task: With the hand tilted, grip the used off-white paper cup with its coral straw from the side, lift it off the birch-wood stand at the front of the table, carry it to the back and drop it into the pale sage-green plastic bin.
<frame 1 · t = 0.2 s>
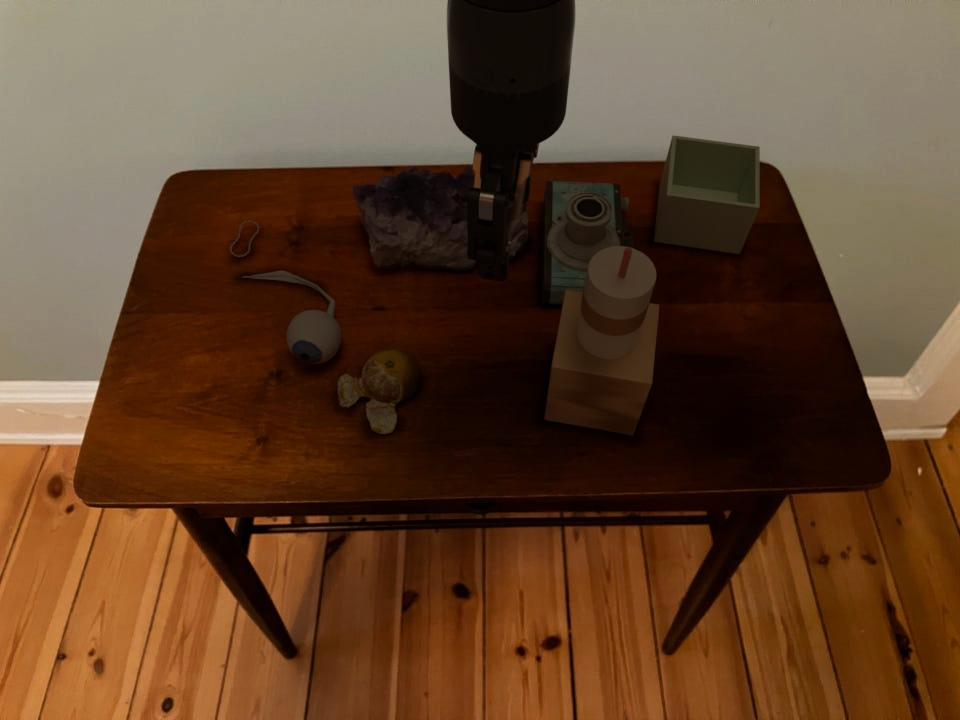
hand: (505, 236, 58), 22 cm above the table, tool pointing down, fingers open, 8 cm apart
paper cup: (607, 334, 68), point 10 cm above the table, touching stand
geode: (443, 241, 88), on the table
stand: (593, 390, 76), on the table
camera: (585, 255, 87), on the table
novelty item: (289, 321, 82), on the table
necklace: (246, 242, 88), on the table
bin: (698, 217, 90), on the table
fruit: (376, 393, 77), on the table
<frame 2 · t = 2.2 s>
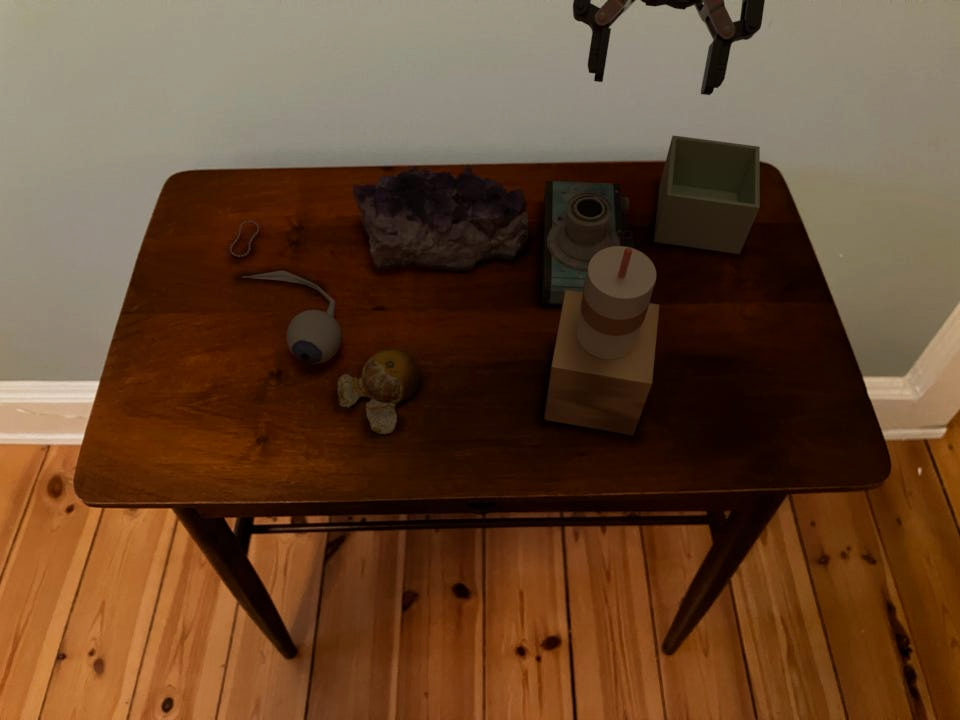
hand: (652, 86, 59), 29 cm above the table, tool tilted 45°, fingers open, 8 cm apart
nothing on the table moved.
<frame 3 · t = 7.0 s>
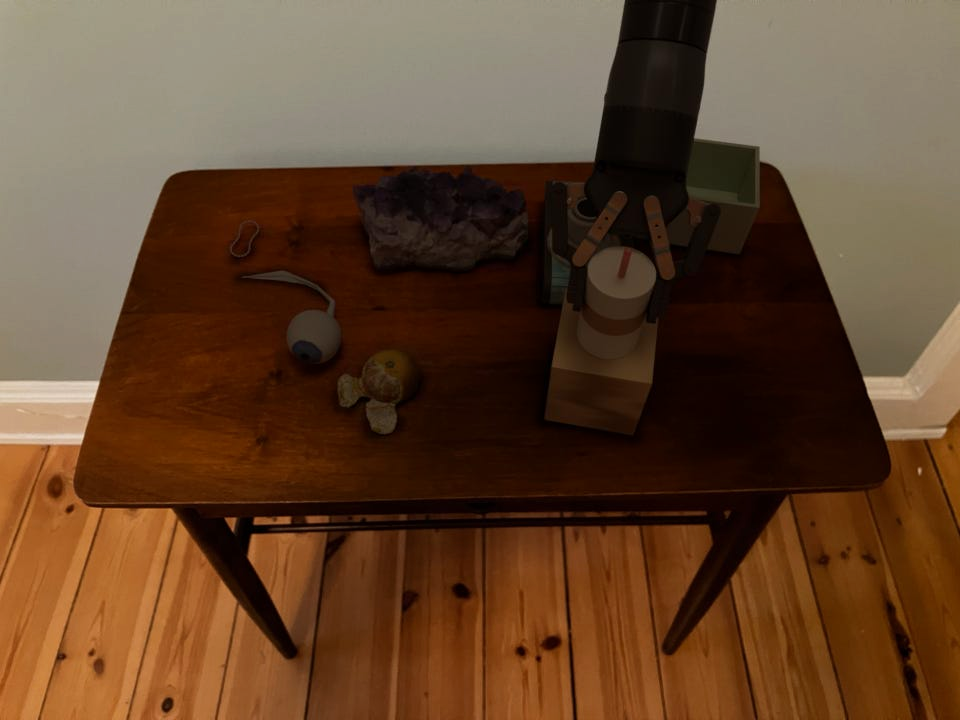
hand: (613, 315, 63), 15 cm above the table, tool tilted 45°, fingers closed on paper cup, 5 cm apart
paper cup: (607, 334, 68), point 10 cm above the table, touching gripper, stand
everything else where it was.
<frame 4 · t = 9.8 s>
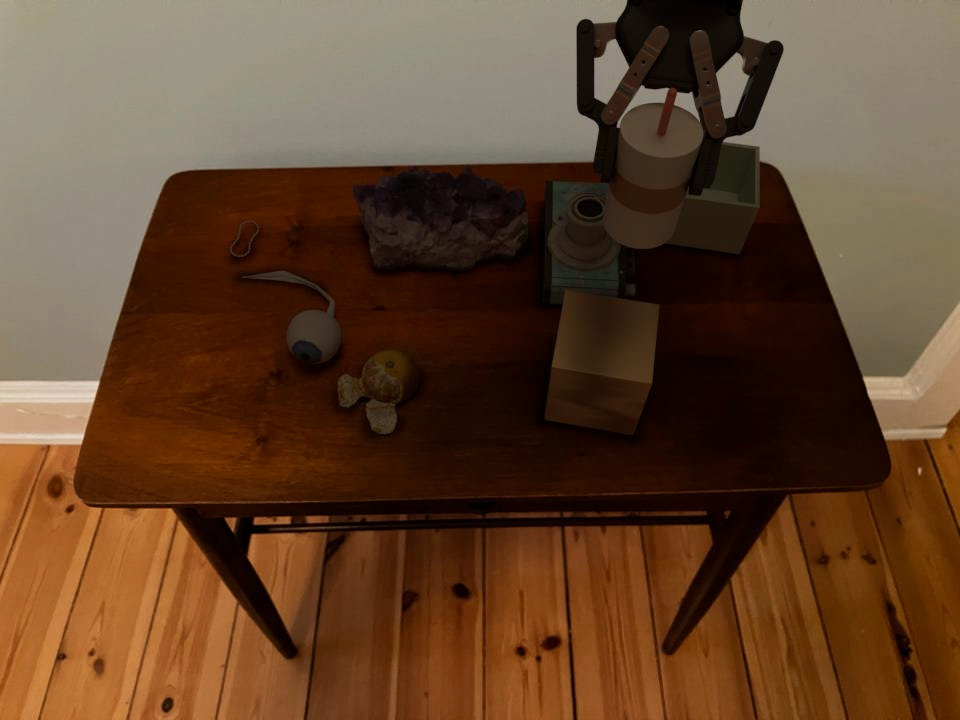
hand: (650, 187, 52), 29 cm above the table, tool tilted 45°, fingers closed on paper cup, 5 cm apart
paper cup: (638, 222, 58), point 23 cm above the table, touching gripper
everything else where it was.
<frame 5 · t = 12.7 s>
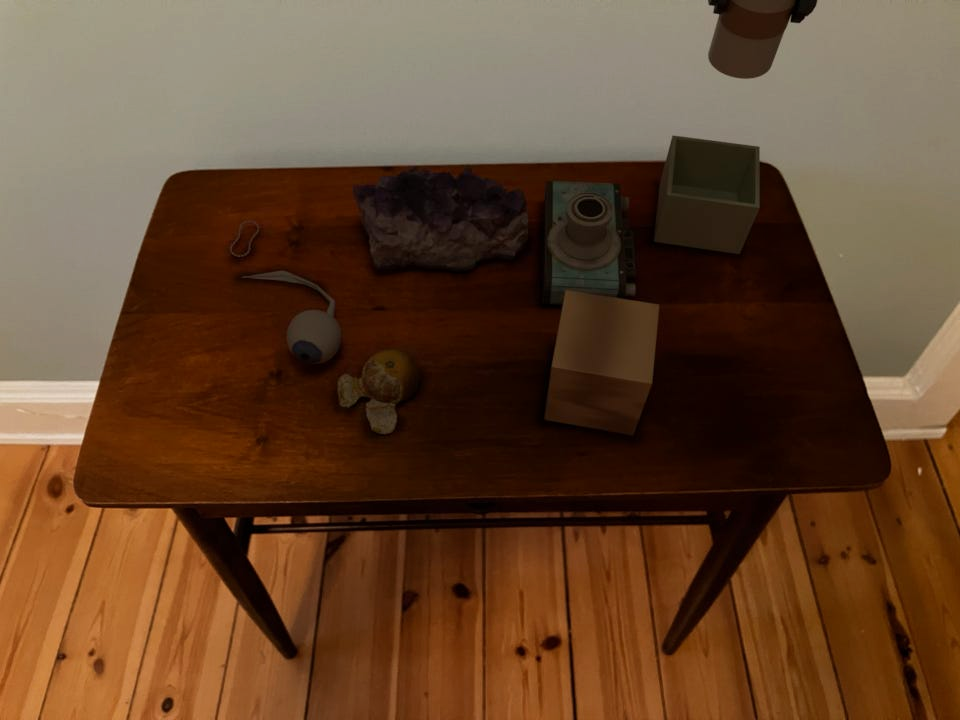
hand: (758, 15, 61), 30 cm above the table, tool tilted 45°, fingers closed on paper cup, 5 cm apart
paper cup: (739, 59, 66), point 25 cm above the table, touching gripper
everything else where it was.
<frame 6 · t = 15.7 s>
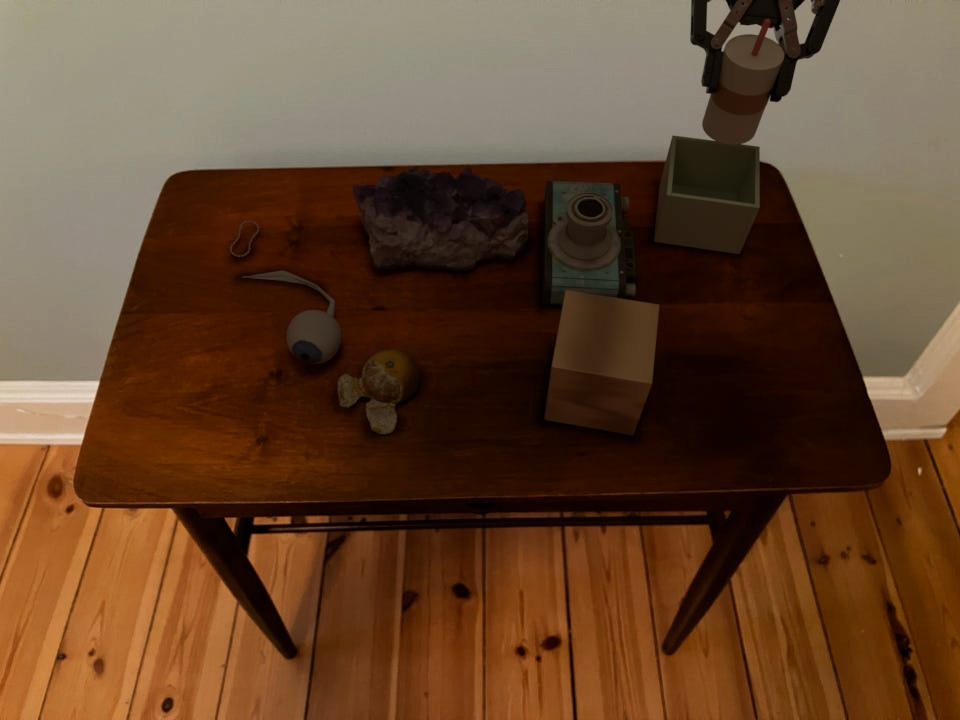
hand: (743, 96, 73), 19 cm above the table, tool tilted 45°, fingers closed on paper cup, 5 cm apart
paper cup: (728, 127, 78), point 14 cm above the table, touching gripper
everything else where it was.
when the fingers open (10 cm above the table, at t = 18.5 s): paper cup drops 4 cm, resting on bin.
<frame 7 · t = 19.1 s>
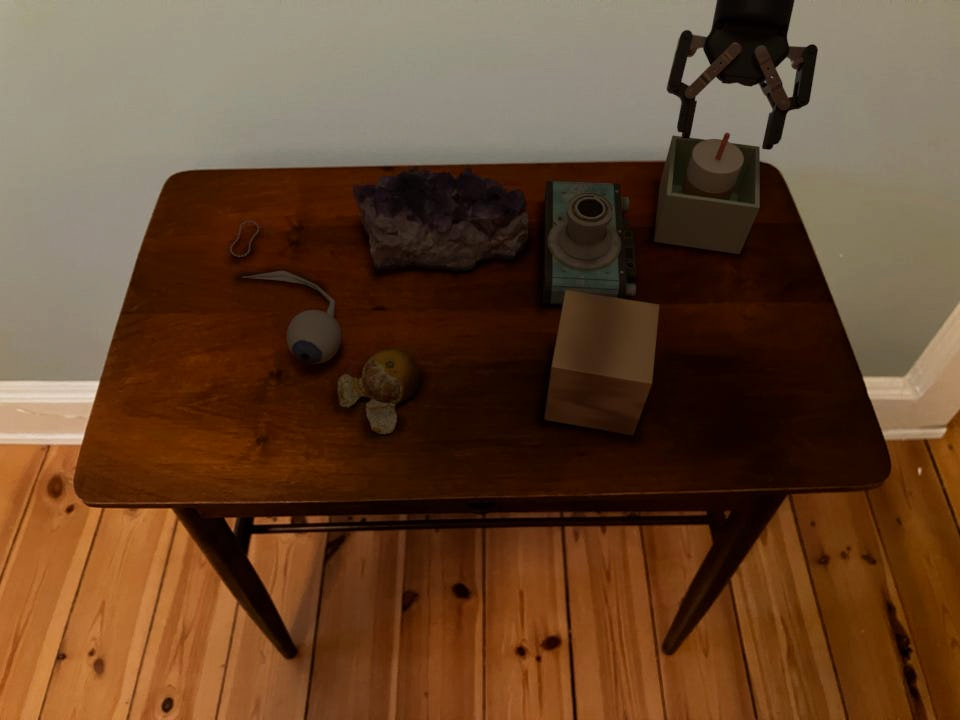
hand: (726, 143, 78), 13 cm above the table, tool tilted 45°, fingers open, 8 cm apart
paper cup: (698, 213, 89), point 1 cm above the table, touching bin
everything else where it was.
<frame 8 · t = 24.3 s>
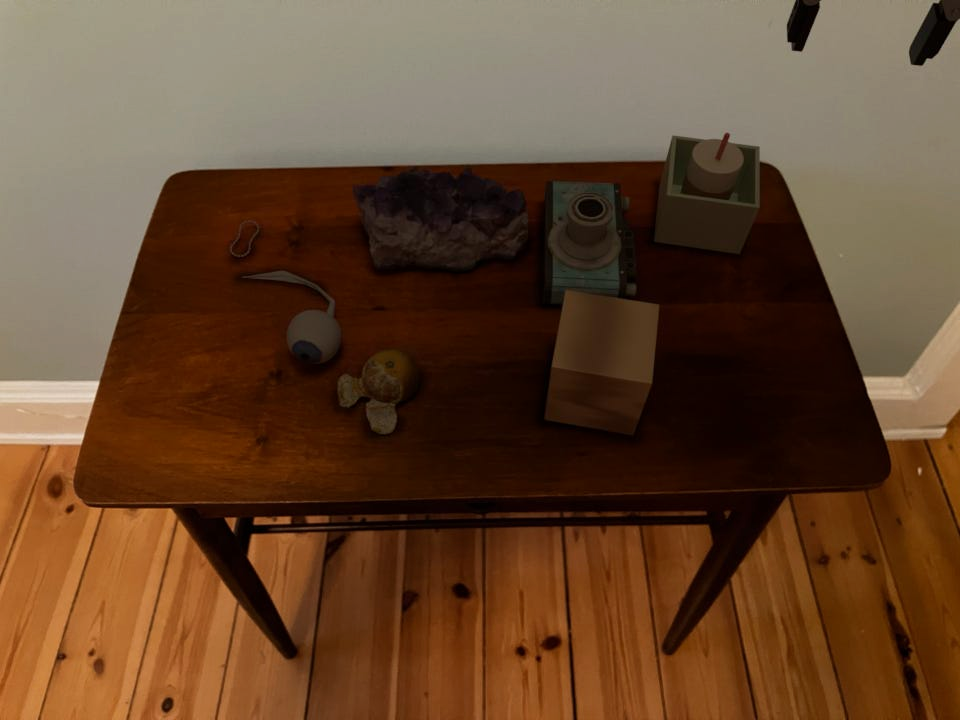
hand: (855, 52, 55), 32 cm above the table, tool pointing down, fingers open, 8 cm apart
nothing on the table moved.
at the end: paper cup inside the target area in the bin (0.1 cm from its centre), point 0.6 cm above the bin's base; the gripper is holding nothing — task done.
